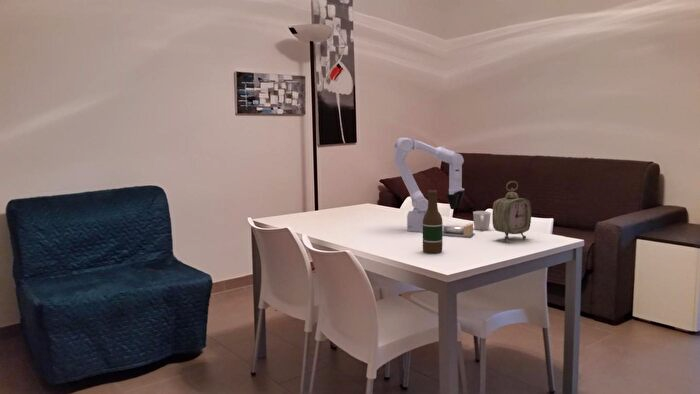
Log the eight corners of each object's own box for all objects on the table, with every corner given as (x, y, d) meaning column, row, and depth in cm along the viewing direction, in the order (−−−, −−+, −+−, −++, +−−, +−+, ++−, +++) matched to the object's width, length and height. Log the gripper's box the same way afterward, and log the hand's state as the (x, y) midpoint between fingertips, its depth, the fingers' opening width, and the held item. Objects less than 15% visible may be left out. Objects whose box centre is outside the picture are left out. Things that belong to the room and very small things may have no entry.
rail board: (427, 234, 244) (427, 223, 243) (433, 231, 251) (433, 220, 250) (470, 238, 236) (470, 226, 235) (474, 234, 243) (474, 223, 242)
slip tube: (443, 233, 243) (443, 226, 243) (445, 232, 246) (445, 225, 246) (467, 235, 239) (467, 227, 238) (469, 233, 241) (469, 226, 241)
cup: (491, 232, 247) (491, 214, 246) (473, 231, 249) (473, 214, 248) (490, 227, 258) (490, 211, 257) (472, 227, 259) (472, 210, 258)
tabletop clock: (506, 244, 223) (507, 183, 220) (490, 240, 230) (491, 181, 227) (530, 239, 230) (532, 180, 227) (513, 236, 238) (515, 179, 235)
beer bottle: (420, 249, 216) (420, 189, 213) (439, 249, 216) (440, 188, 213) (424, 254, 208) (424, 191, 205) (444, 253, 209) (445, 191, 206)
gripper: (459, 180, 245) (459, 210, 247) (467, 177, 258) (467, 206, 260) (444, 180, 248) (444, 209, 250) (453, 177, 261) (453, 205, 263)
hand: (455, 208), depth 255 cm, fingers open, 7 cm apart
